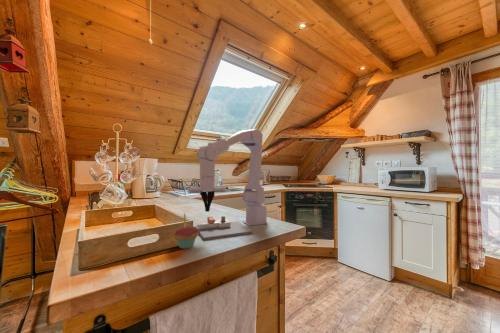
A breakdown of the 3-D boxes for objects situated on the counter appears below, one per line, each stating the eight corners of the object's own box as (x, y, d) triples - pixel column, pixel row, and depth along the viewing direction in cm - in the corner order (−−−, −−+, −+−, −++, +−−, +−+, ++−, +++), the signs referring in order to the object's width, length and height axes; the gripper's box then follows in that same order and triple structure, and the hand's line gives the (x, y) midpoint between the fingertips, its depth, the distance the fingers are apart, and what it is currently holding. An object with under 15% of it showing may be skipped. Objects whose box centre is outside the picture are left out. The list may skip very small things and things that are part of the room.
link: (226, 223, 103) (226, 219, 103) (230, 226, 99) (230, 222, 99) (196, 227, 98) (196, 222, 98) (198, 230, 93) (198, 225, 93)
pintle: (224, 225, 101) (224, 216, 101) (225, 226, 100) (225, 217, 99) (220, 226, 100) (220, 216, 100) (221, 227, 99) (222, 217, 99)
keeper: (211, 227, 102) (211, 216, 102) (215, 230, 97) (215, 218, 97) (207, 227, 101) (207, 216, 101) (210, 231, 96) (210, 219, 96)
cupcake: (196, 250, 76) (196, 214, 75) (169, 251, 75) (169, 214, 75) (200, 241, 84) (200, 208, 84) (176, 241, 84) (176, 209, 83)
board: (238, 223, 108) (238, 221, 108) (252, 233, 94) (252, 231, 94) (195, 228, 100) (195, 226, 100) (203, 240, 85) (203, 237, 85)
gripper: (224, 175, 96) (224, 207, 96) (187, 176, 92) (188, 209, 92) (227, 176, 89) (226, 211, 89) (188, 177, 85) (188, 213, 85)
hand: (207, 211), depth 90 cm, fingers closed
